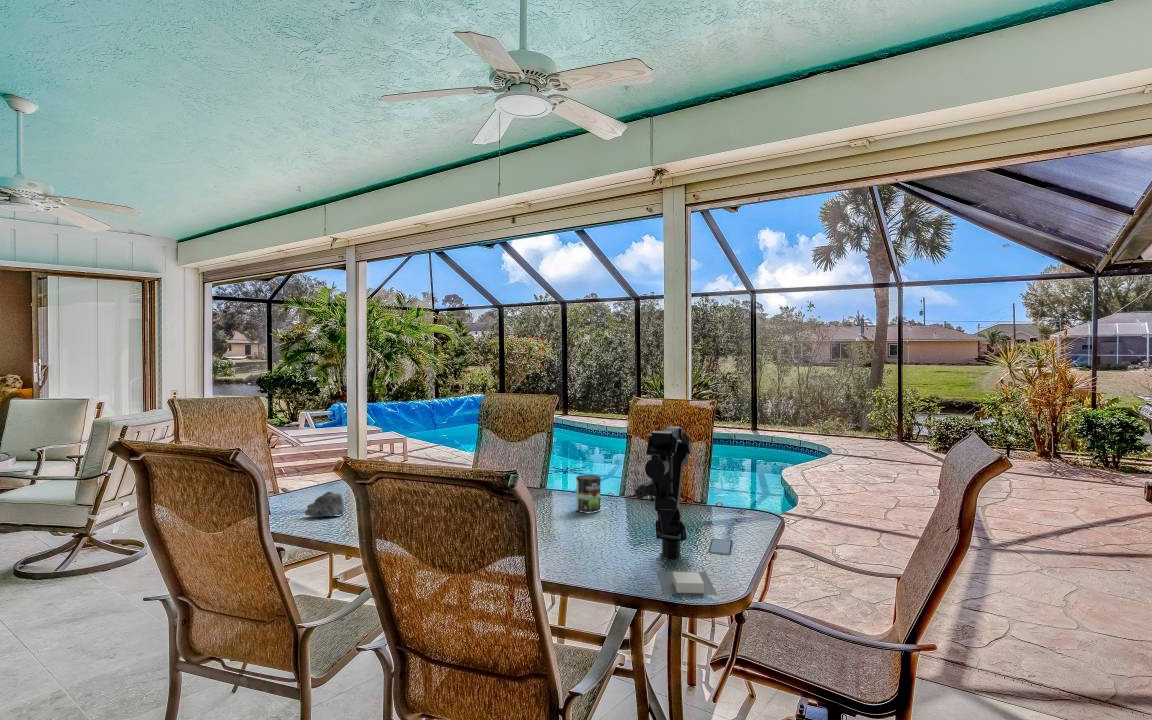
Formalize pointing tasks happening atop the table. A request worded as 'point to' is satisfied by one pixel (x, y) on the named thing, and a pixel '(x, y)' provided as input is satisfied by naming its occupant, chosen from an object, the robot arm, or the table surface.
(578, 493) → the coffee can
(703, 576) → the mat
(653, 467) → the robot arm
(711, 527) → the table surface
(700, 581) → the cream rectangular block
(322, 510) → the mineral rock
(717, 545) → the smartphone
